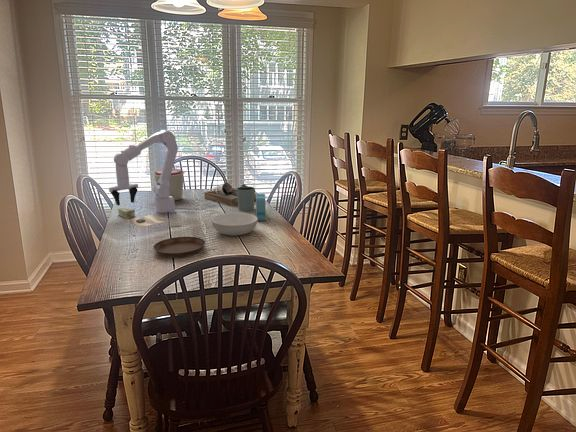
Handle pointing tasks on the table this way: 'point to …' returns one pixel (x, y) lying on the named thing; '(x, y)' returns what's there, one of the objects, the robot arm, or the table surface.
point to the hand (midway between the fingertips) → (125, 203)
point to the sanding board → (148, 220)
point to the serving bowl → (234, 223)
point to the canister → (173, 183)
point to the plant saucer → (179, 247)
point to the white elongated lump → (225, 189)
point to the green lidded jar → (246, 198)
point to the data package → (260, 207)
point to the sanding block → (126, 212)
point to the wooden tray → (223, 198)
